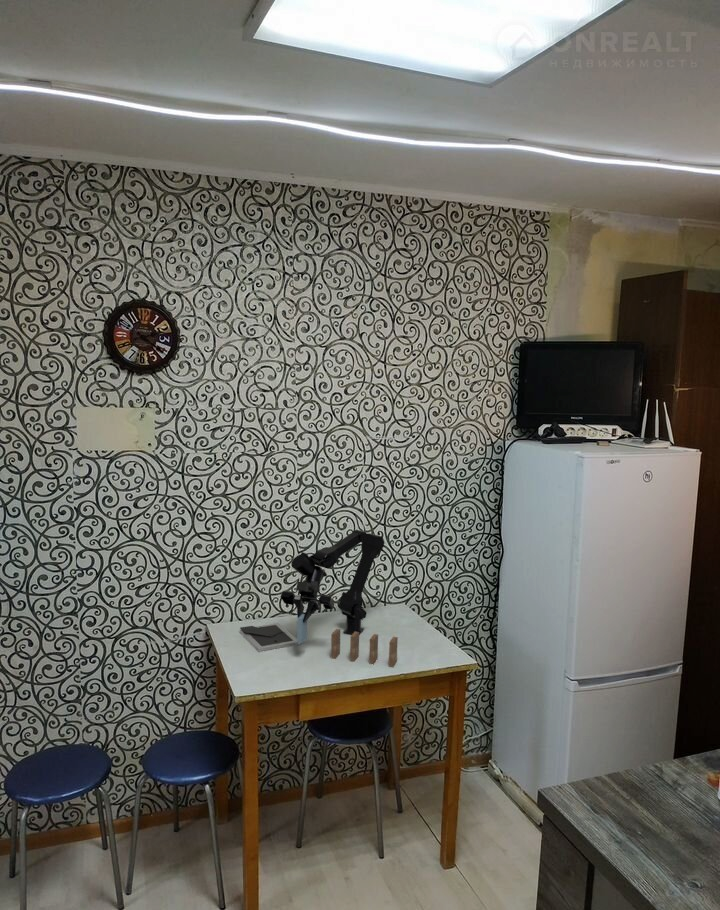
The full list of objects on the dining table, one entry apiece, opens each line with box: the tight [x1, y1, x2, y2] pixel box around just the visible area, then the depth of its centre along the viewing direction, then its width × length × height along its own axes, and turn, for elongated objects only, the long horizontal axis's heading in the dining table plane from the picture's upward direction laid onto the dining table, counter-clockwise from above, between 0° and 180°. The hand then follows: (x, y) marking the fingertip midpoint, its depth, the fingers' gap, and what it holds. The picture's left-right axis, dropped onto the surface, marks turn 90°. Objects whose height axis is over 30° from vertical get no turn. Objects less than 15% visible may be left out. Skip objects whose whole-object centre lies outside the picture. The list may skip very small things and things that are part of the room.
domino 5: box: [388, 636, 399, 669], centre depth 244 cm, size 2×5×9 cm, turn 163°
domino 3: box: [349, 632, 360, 663], centre depth 248 cm, size 2×5×9 cm, turn 163°
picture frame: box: [239, 622, 300, 653], centre depth 265 cm, size 16×3×21 cm
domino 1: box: [296, 613, 308, 645], centre depth 248 cm, size 2×5×9 cm, turn 162°
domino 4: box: [368, 633, 379, 666], centre depth 246 cm, size 2×5×9 cm, turn 163°
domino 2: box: [330, 628, 341, 660], centre depth 250 cm, size 2×5×9 cm, turn 163°
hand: (301, 622), depth 246 cm, fingers closed on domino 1, 2 cm apart
